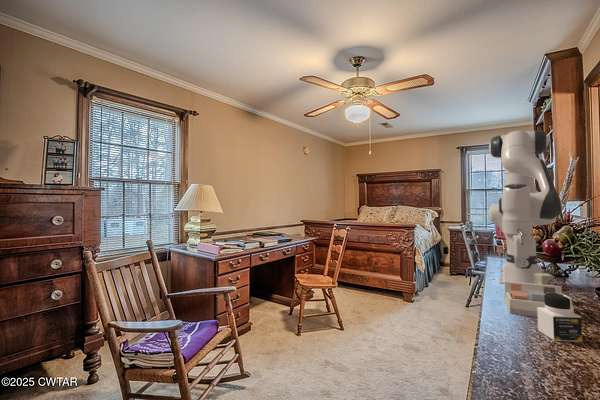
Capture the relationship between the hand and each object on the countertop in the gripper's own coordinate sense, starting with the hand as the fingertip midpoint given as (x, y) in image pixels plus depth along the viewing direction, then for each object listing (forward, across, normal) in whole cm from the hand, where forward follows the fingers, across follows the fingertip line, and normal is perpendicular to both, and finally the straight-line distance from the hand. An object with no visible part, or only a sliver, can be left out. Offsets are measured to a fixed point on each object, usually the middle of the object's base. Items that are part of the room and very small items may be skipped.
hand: (518, 266), depth 107 cm
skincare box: (+16, +18, -10) cm, 27 cm away
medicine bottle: (+15, -21, -6) cm, 27 cm away
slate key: (+11, -1, -5) cm, 12 cm away
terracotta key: (+12, -1, 0) cm, 12 cm away
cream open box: (+16, +2, -5) cm, 17 cm away
